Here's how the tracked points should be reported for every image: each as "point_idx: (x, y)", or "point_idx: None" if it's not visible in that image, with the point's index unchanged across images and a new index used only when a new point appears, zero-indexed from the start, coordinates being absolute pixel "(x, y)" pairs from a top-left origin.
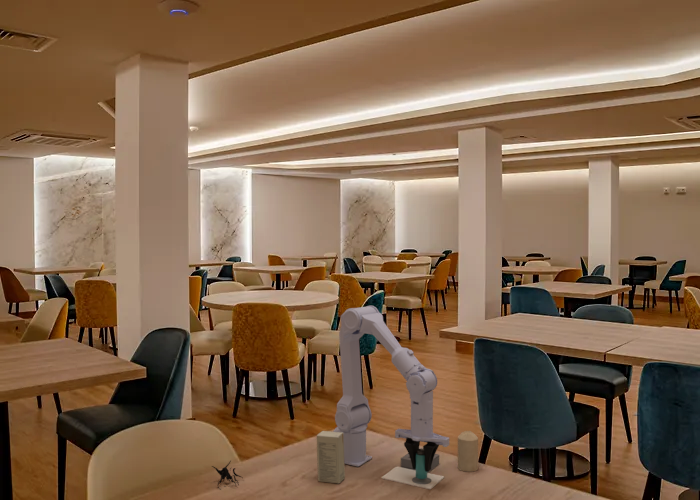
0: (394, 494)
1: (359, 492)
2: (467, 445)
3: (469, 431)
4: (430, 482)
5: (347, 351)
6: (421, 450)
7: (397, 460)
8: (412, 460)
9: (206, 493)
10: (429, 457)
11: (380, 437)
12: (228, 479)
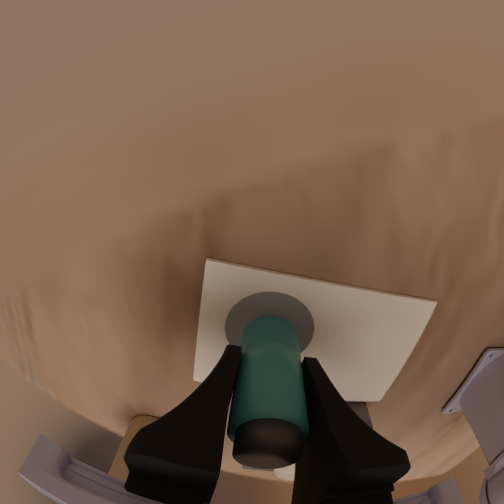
0: (365, 146)
1: (486, 140)
2: (122, 479)
3: None
4: (225, 321)
5: None
6: (265, 452)
7: (374, 430)
8: (325, 386)
9: None
10: (188, 398)
11: None
12: None
